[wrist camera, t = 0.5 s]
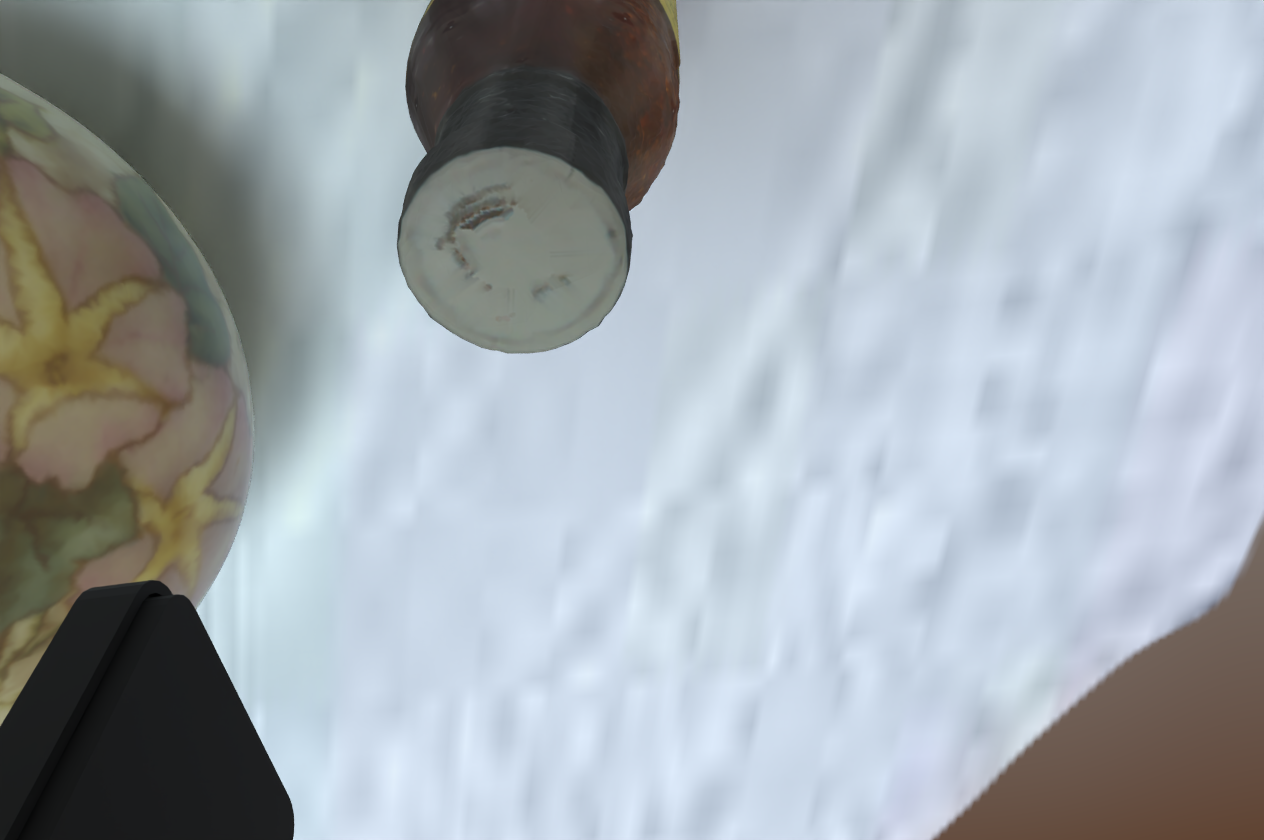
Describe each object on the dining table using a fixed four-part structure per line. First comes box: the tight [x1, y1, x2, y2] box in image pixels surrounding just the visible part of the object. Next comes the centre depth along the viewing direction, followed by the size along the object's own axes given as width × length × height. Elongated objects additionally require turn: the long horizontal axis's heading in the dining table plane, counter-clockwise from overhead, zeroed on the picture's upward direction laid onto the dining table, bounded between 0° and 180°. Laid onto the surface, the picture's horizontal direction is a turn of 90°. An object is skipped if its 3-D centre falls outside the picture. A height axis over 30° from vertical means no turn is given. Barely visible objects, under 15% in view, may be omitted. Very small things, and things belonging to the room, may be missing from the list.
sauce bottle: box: [397, 0, 680, 353], centre depth 28 cm, size 7×6×20 cm
